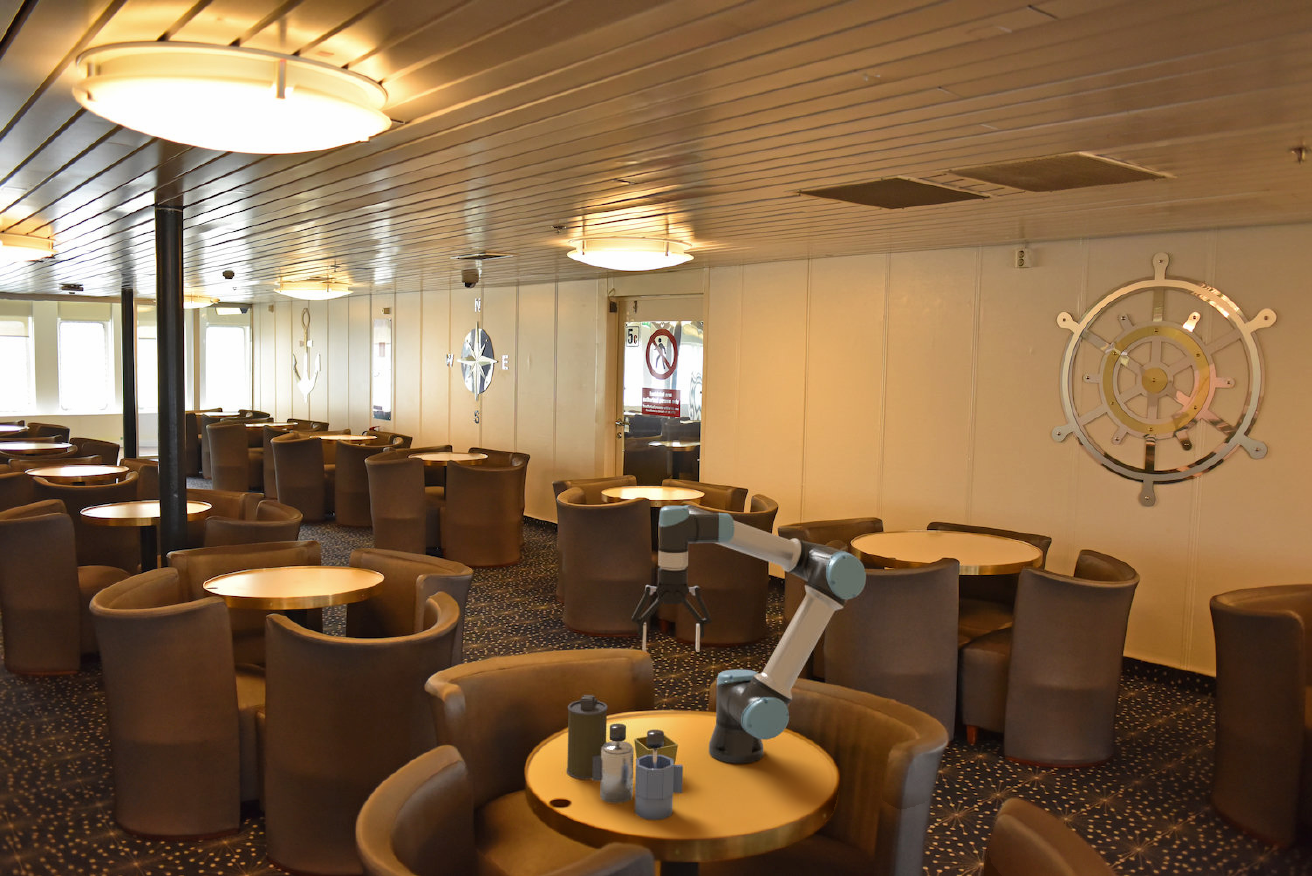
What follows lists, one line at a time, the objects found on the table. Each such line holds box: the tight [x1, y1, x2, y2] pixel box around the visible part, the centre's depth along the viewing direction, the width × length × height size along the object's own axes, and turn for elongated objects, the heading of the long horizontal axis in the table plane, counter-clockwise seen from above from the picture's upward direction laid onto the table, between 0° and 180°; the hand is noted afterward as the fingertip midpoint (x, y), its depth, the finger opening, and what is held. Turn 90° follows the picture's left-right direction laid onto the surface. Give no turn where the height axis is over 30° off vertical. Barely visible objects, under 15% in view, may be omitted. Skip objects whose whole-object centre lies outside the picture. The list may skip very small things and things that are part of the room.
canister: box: [566, 694, 608, 780], centre depth 247 cm, size 11×10×20 cm
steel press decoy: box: [591, 723, 635, 804], centre depth 233 cm, size 10×8×18 cm
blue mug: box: [634, 755, 684, 821], centre depth 225 cm, size 11×9×12 cm
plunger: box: [646, 729, 665, 769], centre depth 225 cm, size 7×7×14 cm
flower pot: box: [633, 733, 679, 765], centre depth 246 cm, size 9×9×9 cm
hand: (670, 650), depth 239 cm, fingers open, 13 cm apart
